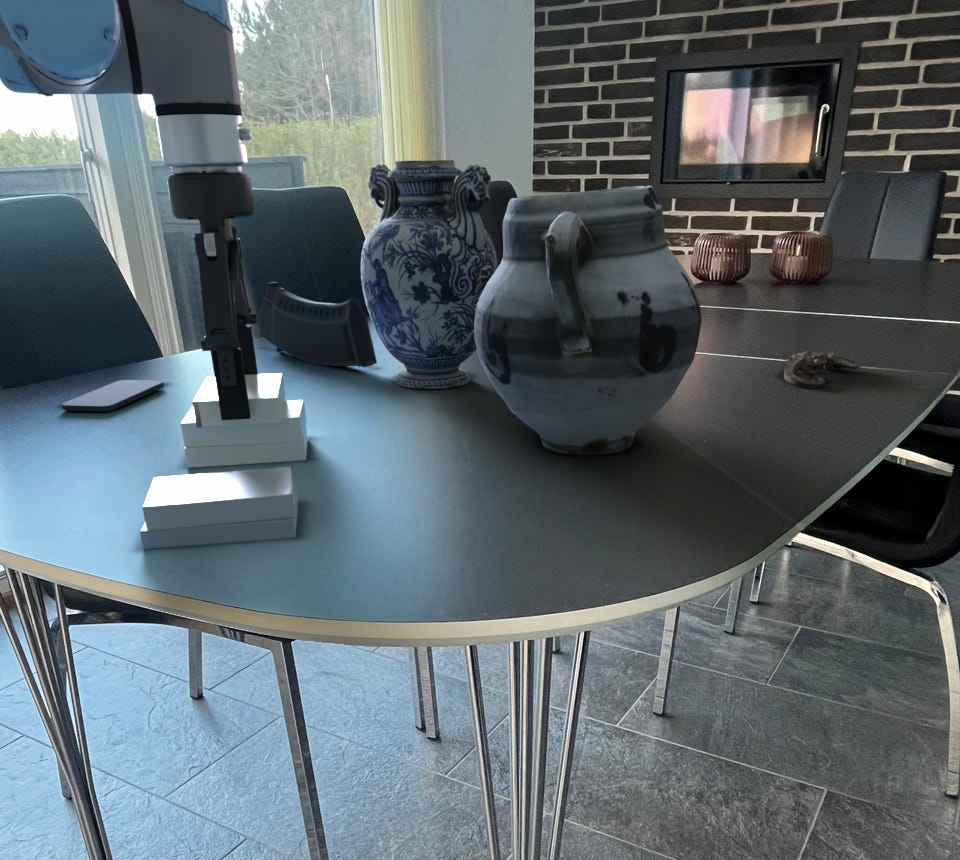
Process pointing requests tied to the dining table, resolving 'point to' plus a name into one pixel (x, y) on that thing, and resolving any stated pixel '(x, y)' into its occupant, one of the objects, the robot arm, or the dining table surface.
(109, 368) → the dining table surface
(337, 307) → the magazine
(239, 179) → the robot arm
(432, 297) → the decorative vase
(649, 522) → the dining table surface
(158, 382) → the phone
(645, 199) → the ceramic pot
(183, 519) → the white box
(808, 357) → the seahorse
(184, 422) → the white books
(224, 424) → the white book
